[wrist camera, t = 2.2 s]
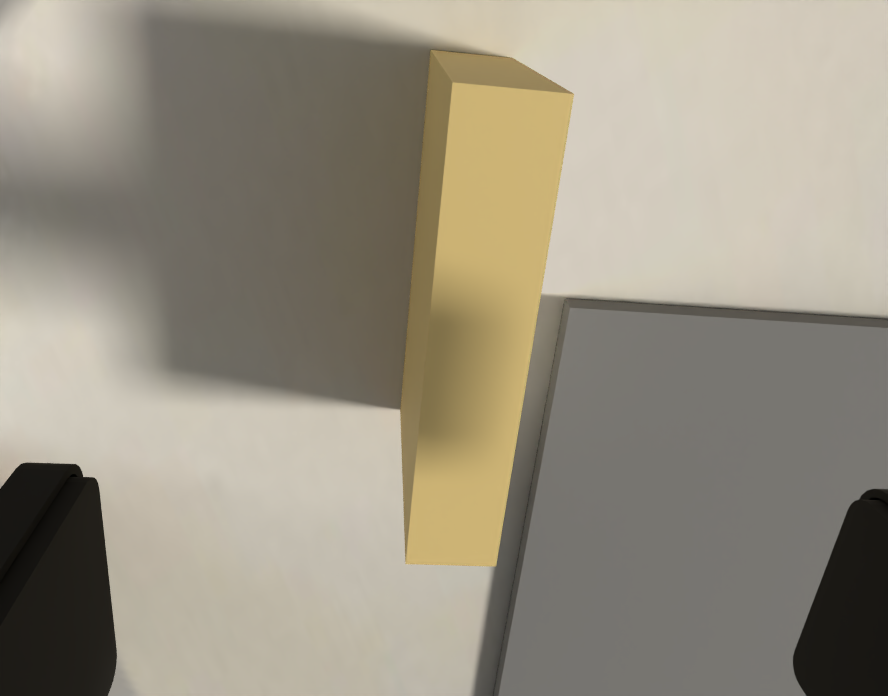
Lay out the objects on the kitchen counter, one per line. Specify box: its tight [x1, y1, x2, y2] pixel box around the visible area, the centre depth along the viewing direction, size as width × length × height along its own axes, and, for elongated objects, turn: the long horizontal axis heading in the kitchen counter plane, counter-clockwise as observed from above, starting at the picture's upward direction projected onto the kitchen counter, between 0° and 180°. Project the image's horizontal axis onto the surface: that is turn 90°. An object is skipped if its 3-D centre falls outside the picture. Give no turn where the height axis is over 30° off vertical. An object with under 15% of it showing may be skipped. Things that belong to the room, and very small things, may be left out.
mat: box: [493, 299, 888, 696], centre depth 24 cm, size 20×16×1 cm
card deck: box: [400, 50, 574, 566], centre depth 16 cm, size 9×2×6 cm, turn 174°
